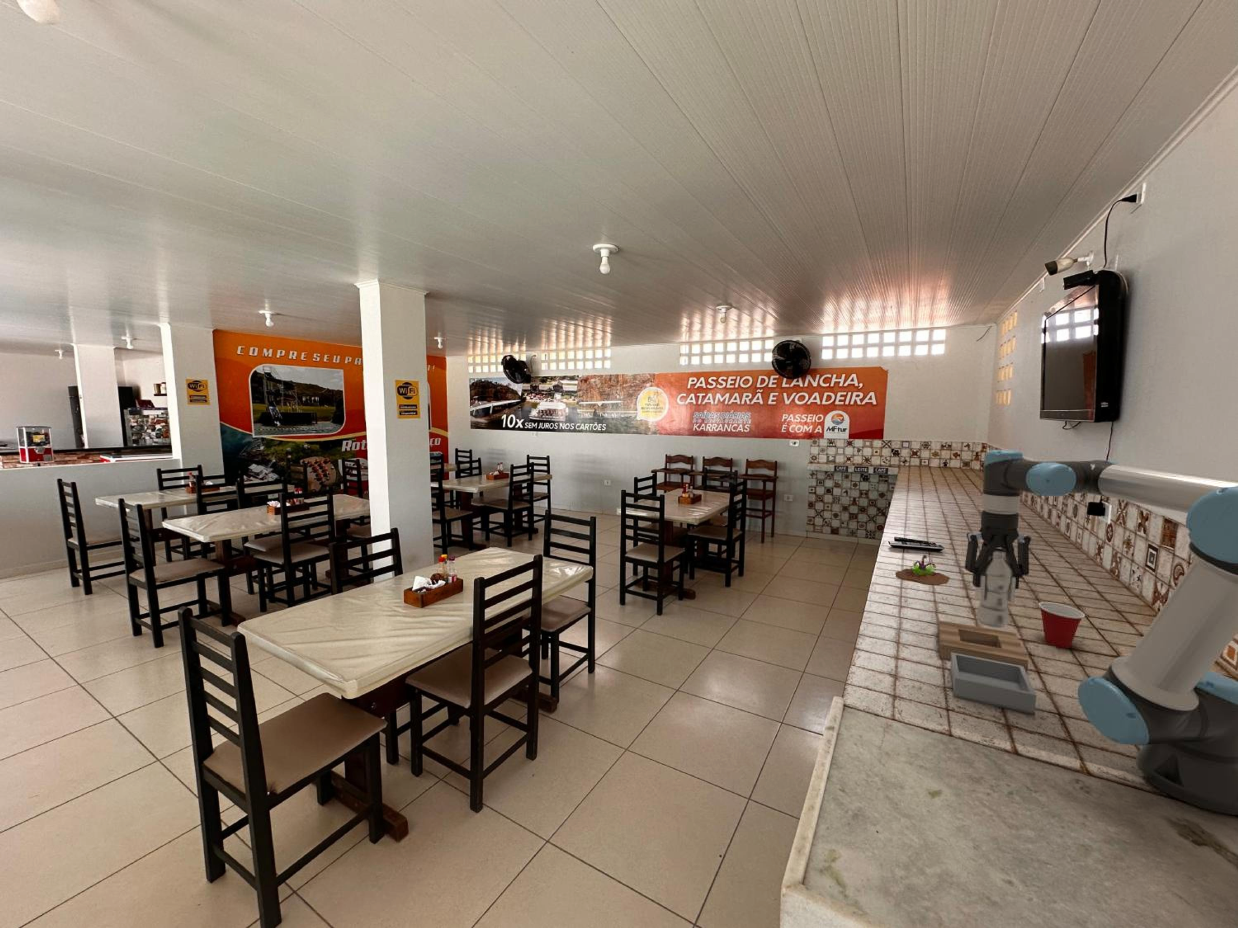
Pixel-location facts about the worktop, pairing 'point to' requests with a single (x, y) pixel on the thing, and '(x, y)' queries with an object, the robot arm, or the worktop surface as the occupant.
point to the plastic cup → (1059, 623)
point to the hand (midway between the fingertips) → (994, 599)
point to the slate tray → (992, 683)
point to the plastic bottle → (995, 591)
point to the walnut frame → (980, 643)
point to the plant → (923, 574)
